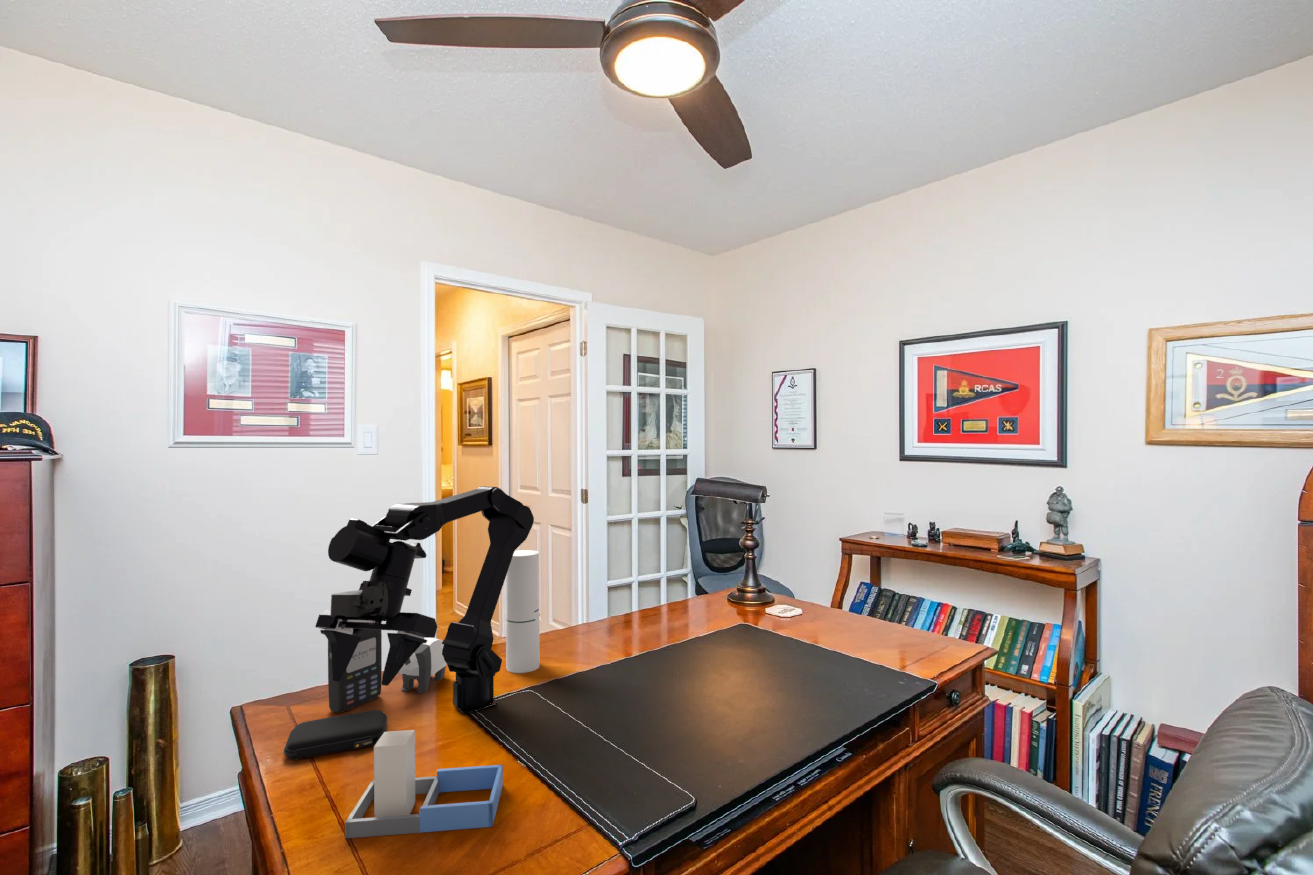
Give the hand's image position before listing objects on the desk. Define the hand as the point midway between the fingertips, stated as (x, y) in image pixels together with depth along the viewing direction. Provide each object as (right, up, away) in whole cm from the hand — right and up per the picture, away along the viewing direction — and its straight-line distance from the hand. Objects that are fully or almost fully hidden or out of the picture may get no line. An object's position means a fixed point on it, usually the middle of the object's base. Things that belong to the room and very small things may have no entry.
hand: (359, 683), depth 89 cm
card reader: (-13, -14, +24) cm, 31 cm away
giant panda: (-4, -14, +32) cm, 35 cm away
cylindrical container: (+15, -14, +42) cm, 47 cm away
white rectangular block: (+9, -14, -9) cm, 19 cm away
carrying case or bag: (-9, -14, +10) cm, 19 cm away
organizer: (+14, -14, -9) cm, 21 cm away
